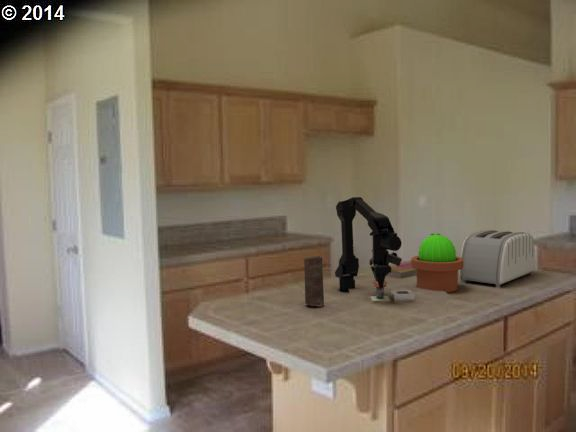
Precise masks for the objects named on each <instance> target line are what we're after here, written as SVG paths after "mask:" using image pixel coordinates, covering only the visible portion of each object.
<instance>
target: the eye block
mask: <svg viewBox="0 0 576 432" xmlns="http://www.w3.org/2000/svg"><path fill="white" fill-rule="evenodd" d="M390 295H391V297H392V299H393V300H394V301H415V300H416V294H415V292H413V291H412V290H411V289H403V290H402V289H397V290H394V289H393V290H390Z"/></svg>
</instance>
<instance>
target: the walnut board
mask: <svg viewBox="0 0 576 432" xmlns="http://www.w3.org/2000/svg"><path fill="white" fill-rule="evenodd" d="M366 296H367V298H368V301H369V302H370V304H412V303H418V301H417V300H416V299H415V301H394V300H393V299H392V297H391V294H384V296H388V298H389V299H390V301H372V299H371V298H370V296H376V294H372V295H371V294H370V295H368V294H367V295H366Z"/></svg>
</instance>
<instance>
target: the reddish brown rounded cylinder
mask: <svg viewBox="0 0 576 432" xmlns="http://www.w3.org/2000/svg"><path fill="white" fill-rule="evenodd" d="M372 283H373V287H375V290H376V291H375V292H376V293H375V295H376V298H377V299H383V298H384V295H385V294H384V293H385V288H387V280H386V279H385V280H384V284H383V288H380V287H379V285H378V282H377V280H376V279H374V280H373V281H372Z"/></svg>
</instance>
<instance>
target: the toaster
mask: <svg viewBox="0 0 576 432" xmlns="http://www.w3.org/2000/svg"><path fill="white" fill-rule="evenodd" d="M461 247H462V248H461V252H460V256H459V257H461V258H463V260H464V261H463V269H461V270H458V277H459V278H460V281H461V282H460V283H461V284H467V281H470V282H477V283H484V284H485V283H486V284H493V285H495V289H501V285H503V284H505V283H506V284H507V283H508V282H510V281H513V280H516V279H519V278H520V277H523V276H525V275H531V276H532V275H534V271H535V270H536V267H537V266H536V265H537V263H536V248H535V242H534V237H533V235H532V234H530V233H528V232H524V231H518V232H512V231H509V230H508V231H505V230H501V231H498V230H493V229H487V230H480V231H477V232H473V233H470V234H469V235H467V237H466V238H464V239H463V243H462V246H461Z"/></svg>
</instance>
